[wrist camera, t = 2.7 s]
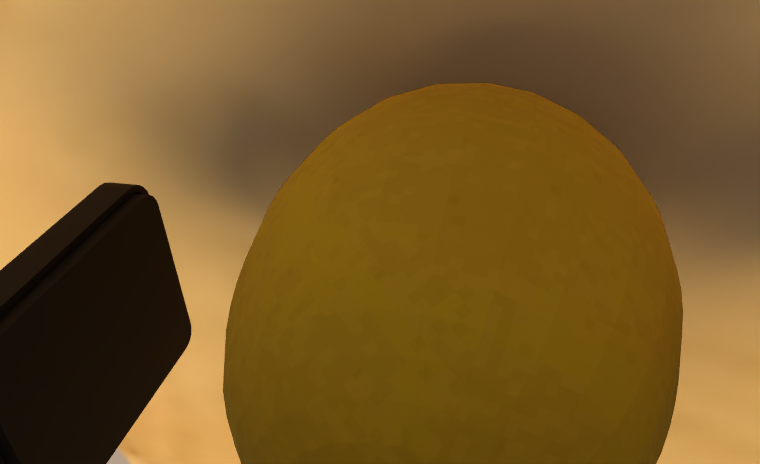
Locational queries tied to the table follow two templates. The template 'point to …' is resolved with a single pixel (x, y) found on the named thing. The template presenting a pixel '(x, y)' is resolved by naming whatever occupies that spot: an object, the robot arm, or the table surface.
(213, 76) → the table surface
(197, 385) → the table surface
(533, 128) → the lemon
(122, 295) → the robot arm
